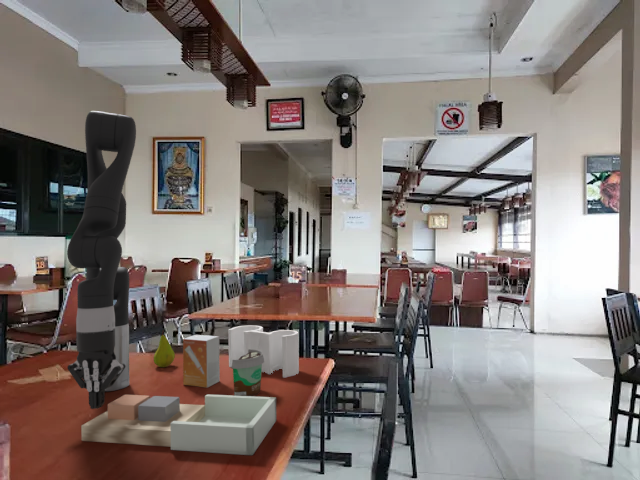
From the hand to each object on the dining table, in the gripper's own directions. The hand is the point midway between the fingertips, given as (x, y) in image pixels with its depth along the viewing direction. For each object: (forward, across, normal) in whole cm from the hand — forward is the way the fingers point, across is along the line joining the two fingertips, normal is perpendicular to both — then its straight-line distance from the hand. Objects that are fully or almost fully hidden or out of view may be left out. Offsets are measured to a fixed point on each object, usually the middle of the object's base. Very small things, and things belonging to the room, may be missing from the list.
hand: (96, 407), depth 96 cm
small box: (+4, +10, +31) cm, 33 cm away
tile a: (+1, +8, 0) cm, 8 cm away
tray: (+4, +30, 0) cm, 30 cm away
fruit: (+4, -10, +46) cm, 47 cm away
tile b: (+1, +15, 0) cm, 15 cm away
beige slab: (+4, +12, 0) cm, 12 cm away
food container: (+4, +27, +25) cm, 37 cm away
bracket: (+4, +23, +48) cm, 53 cm away
